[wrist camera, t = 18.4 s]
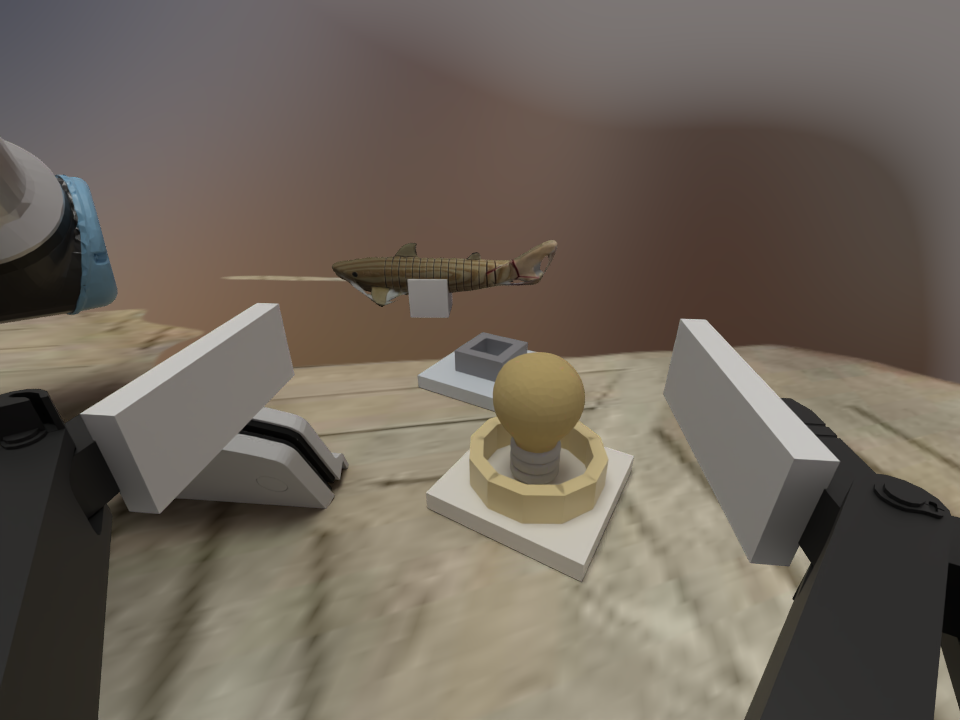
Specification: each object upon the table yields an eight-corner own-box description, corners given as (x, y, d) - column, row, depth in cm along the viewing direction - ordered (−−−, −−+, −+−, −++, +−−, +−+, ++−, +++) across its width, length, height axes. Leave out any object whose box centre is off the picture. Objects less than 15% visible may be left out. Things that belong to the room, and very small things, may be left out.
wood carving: (556, 321, 67) (561, 247, 62) (330, 320, 68) (317, 247, 63) (550, 302, 75) (554, 235, 70) (348, 301, 76) (338, 236, 71)
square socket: (418, 387, 49) (415, 354, 47) (475, 348, 58) (474, 320, 56) (513, 417, 43) (514, 382, 42) (559, 369, 53) (562, 338, 51)
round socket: (427, 508, 33) (423, 465, 31) (504, 427, 42) (504, 391, 40) (581, 582, 27) (587, 535, 25) (631, 470, 36) (638, 430, 34)
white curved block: (353, 464, 37) (316, 389, 30) (335, 518, 34) (289, 448, 27) (171, 453, 39) (95, 379, 32) (137, 504, 36) (44, 434, 28)
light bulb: (590, 495, 32) (606, 373, 27) (505, 511, 30) (507, 385, 26) (557, 443, 37) (566, 334, 33) (484, 454, 36) (483, 343, 32)
